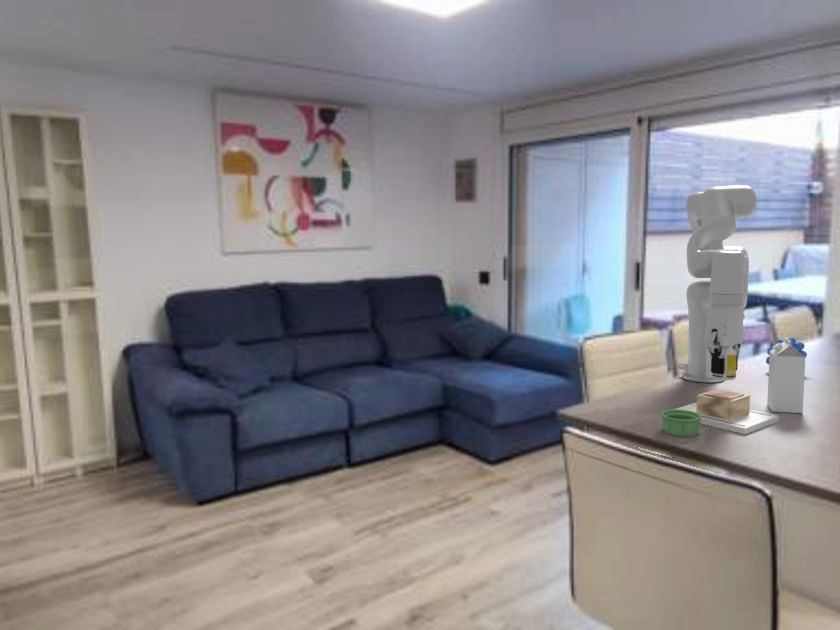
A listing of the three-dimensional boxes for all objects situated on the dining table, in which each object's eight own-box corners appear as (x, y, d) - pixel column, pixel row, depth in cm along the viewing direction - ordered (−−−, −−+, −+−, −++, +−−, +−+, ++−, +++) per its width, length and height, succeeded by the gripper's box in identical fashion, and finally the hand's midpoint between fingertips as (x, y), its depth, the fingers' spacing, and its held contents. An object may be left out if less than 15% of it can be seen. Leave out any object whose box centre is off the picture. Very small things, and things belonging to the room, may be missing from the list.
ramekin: (697, 440, 148) (698, 421, 148) (657, 434, 153) (657, 416, 153) (703, 429, 156) (704, 411, 155) (665, 424, 161) (665, 407, 160)
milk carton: (796, 406, 172) (800, 337, 170) (802, 414, 166) (806, 341, 163) (767, 405, 175) (770, 336, 172) (772, 412, 168) (775, 341, 166)
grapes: (805, 372, 212) (807, 336, 210) (806, 376, 206) (807, 339, 204) (765, 369, 218) (767, 334, 216) (765, 373, 212) (766, 337, 210)
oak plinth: (696, 412, 164) (696, 393, 164) (715, 406, 170) (715, 388, 169) (730, 420, 157) (731, 400, 156) (749, 413, 162) (750, 394, 162)
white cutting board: (669, 416, 167) (669, 410, 167) (703, 405, 176) (703, 399, 176) (745, 434, 151) (745, 428, 151) (778, 421, 160) (778, 415, 160)
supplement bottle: (735, 377, 163) (736, 339, 162) (736, 381, 159) (737, 342, 157) (712, 375, 166) (713, 338, 165) (712, 380, 161) (713, 341, 160)
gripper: (730, 296, 168) (727, 364, 170) (693, 302, 158) (691, 374, 160) (758, 298, 162) (756, 369, 164) (722, 304, 152) (720, 379, 154)
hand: (724, 370), depth 162 cm, fingers closed on supplement bottle, 5 cm apart
